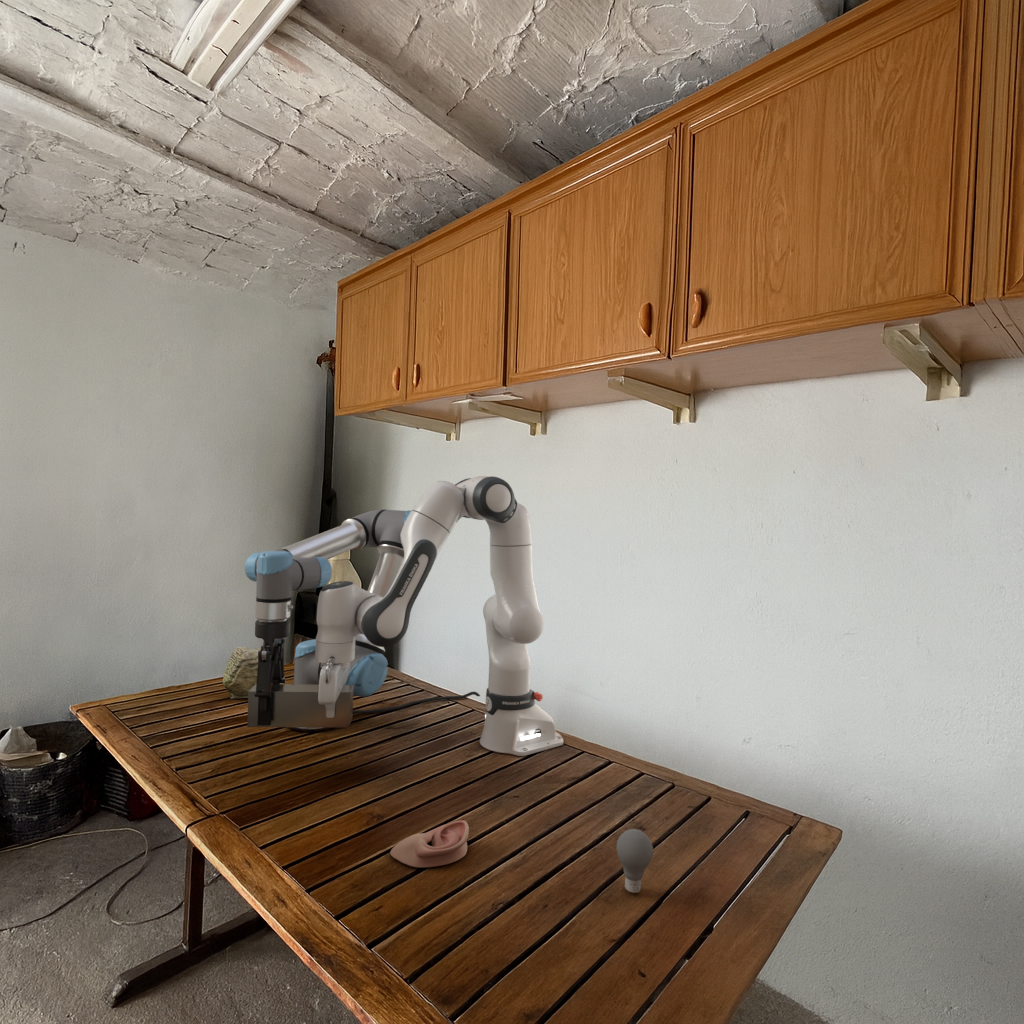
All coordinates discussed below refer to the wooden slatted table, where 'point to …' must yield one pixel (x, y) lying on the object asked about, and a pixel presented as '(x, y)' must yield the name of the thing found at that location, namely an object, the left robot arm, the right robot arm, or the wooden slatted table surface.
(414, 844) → the anatomical model
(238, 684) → the fossil
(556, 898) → the wooden slatted table surface
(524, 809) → the wooden slatted table surface
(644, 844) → the light bulb
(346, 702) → the bar
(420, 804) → the wooden slatted table surface
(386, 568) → the left robot arm
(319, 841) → the wooden slatted table surface
